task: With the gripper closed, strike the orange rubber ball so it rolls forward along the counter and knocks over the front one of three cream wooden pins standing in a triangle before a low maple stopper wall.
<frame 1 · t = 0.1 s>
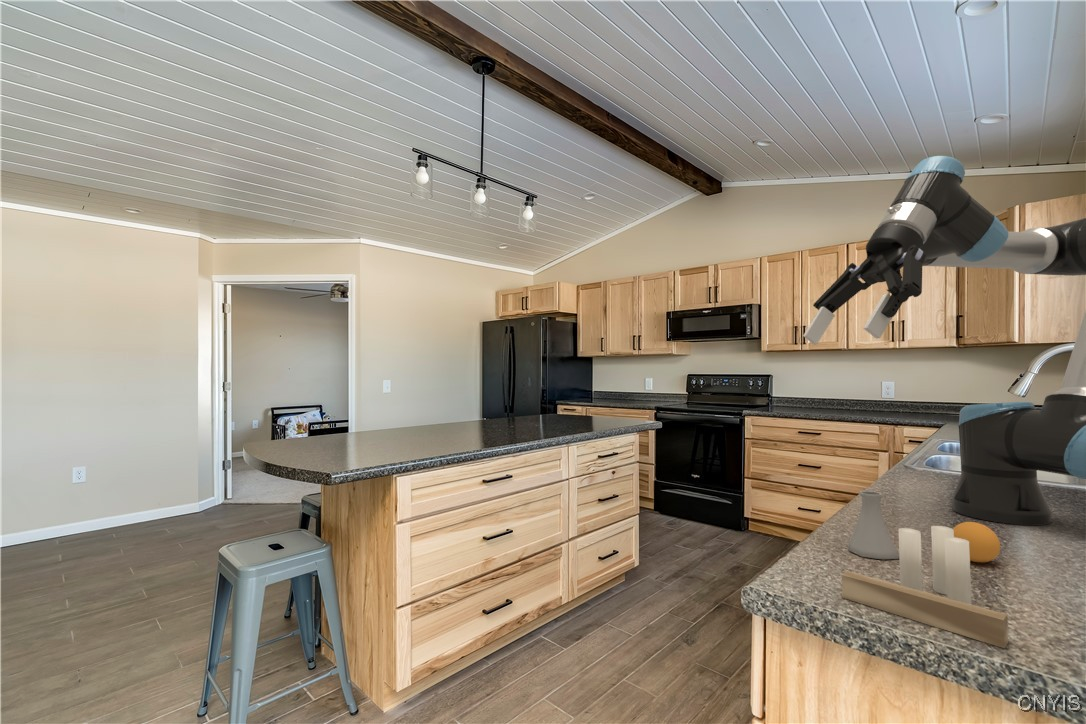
hand: (838, 337, 83), 36 cm above the worktop, tool tilted 35°, fingers open, 13 cm apart
flask: (872, 554, 82), on the worktop
ball: (974, 541, 78), on the worktop
back wall: (917, 617, 60), on the worktop
pin 1: (911, 594, 67), on the worktop
pin 2: (959, 607, 63), on the worktop
pin front: (944, 591, 68), on the worktop
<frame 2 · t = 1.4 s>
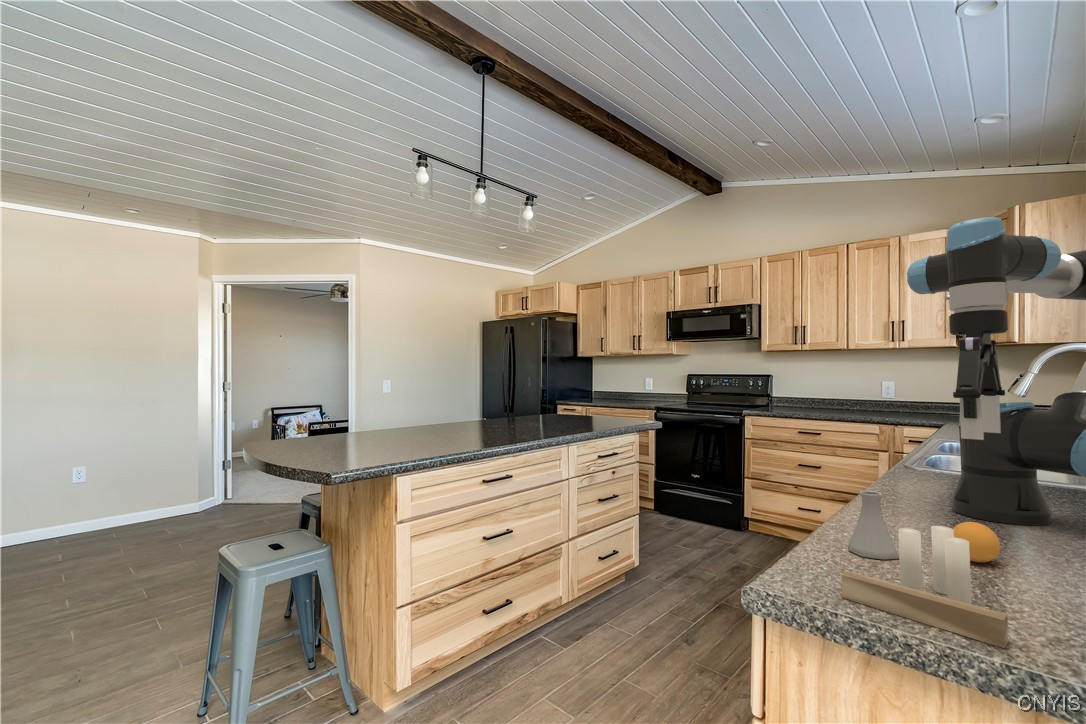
hand: (981, 435, 84), 19 cm above the worktop, tool pointing down, fingers open, 13 cm apart
nothing on the worktop moved.
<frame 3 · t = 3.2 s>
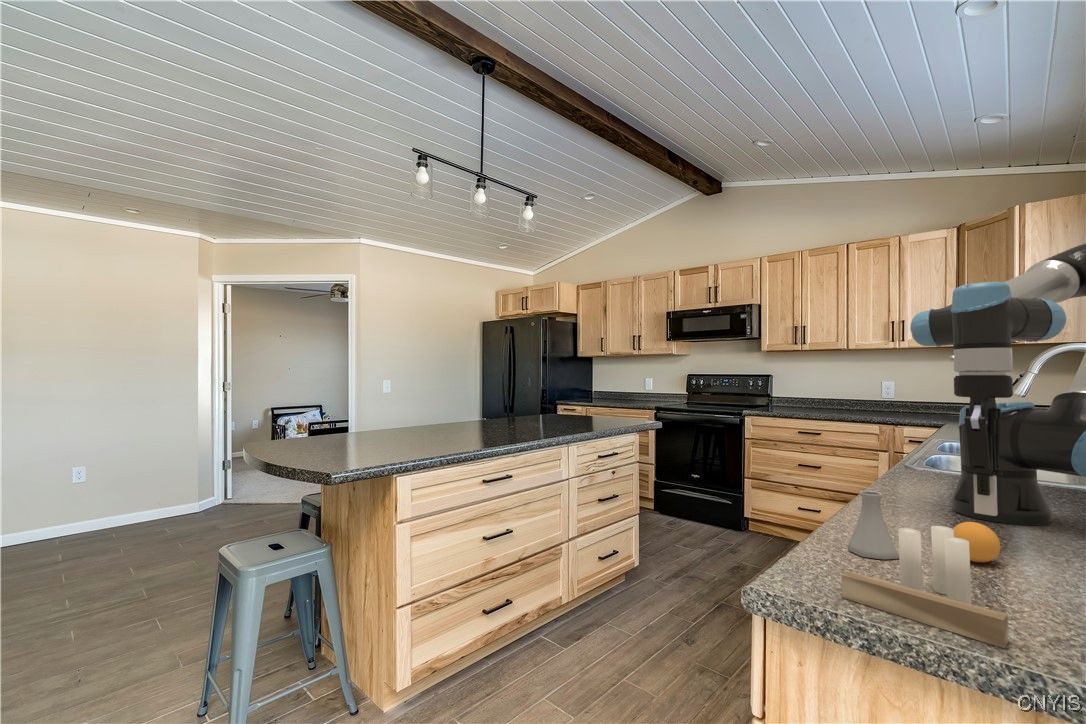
hand: (985, 513, 84), 6 cm above the worktop, tool pointing down, fingers closed
nothing on the worktop moved.
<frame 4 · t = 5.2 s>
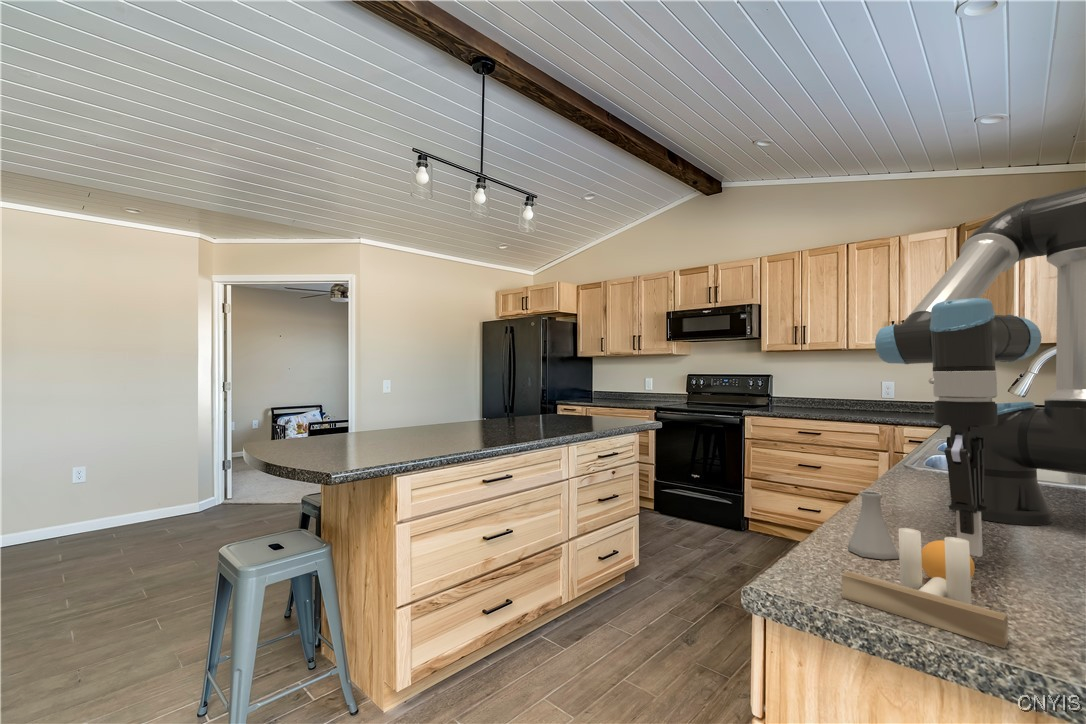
hand: (970, 553, 76), 2 cm above the worktop, tool pointing down, fingers closed
ball: (946, 563, 70), on the worktop
pin front: (940, 586, 67), point 1 cm above the worktop, tilted 90°
everything else where it was.
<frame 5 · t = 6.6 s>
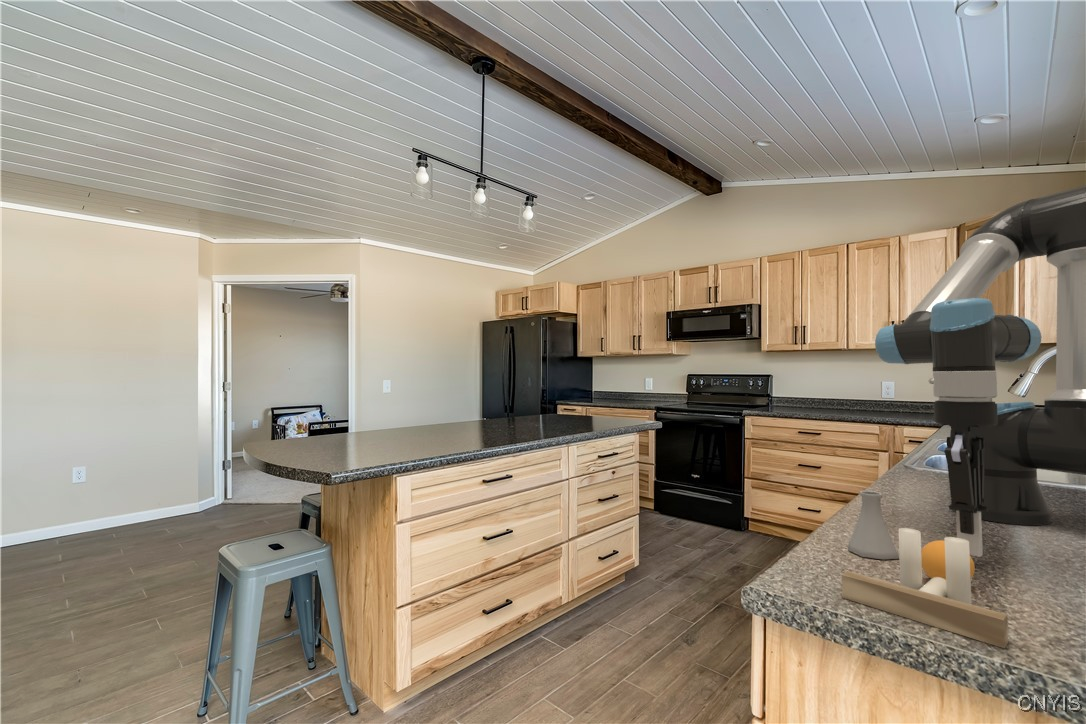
hand: (970, 553, 76), 2 cm above the worktop, tool pointing down, fingers closed
nothing on the worktop moved.
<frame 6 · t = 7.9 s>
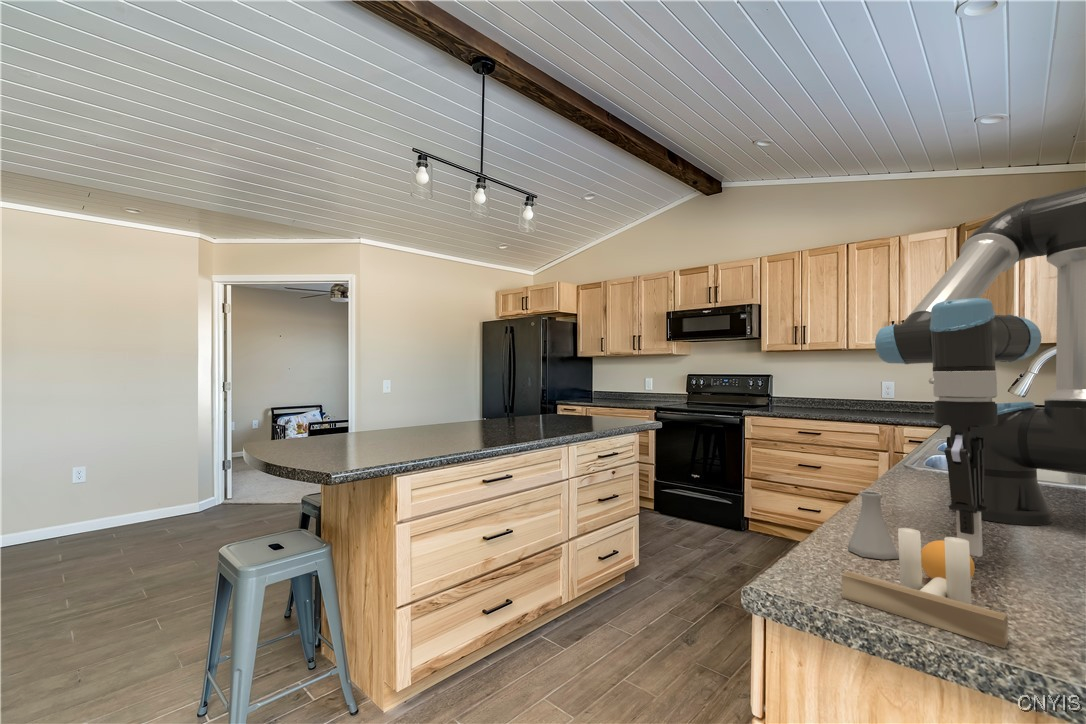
hand: (970, 553, 76), 2 cm above the worktop, tool pointing down, fingers closed
nothing on the worktop moved.
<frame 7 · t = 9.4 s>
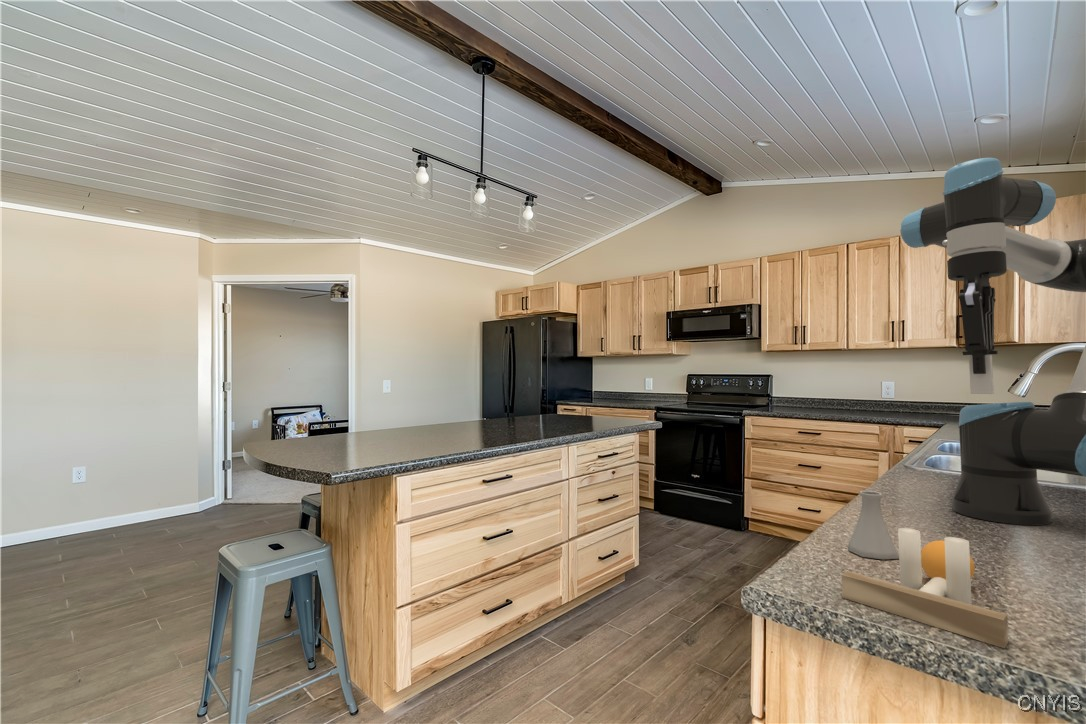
hand: (982, 393, 84), 26 cm above the worktop, tool pointing down, fingers closed
nothing on the worktop moved.
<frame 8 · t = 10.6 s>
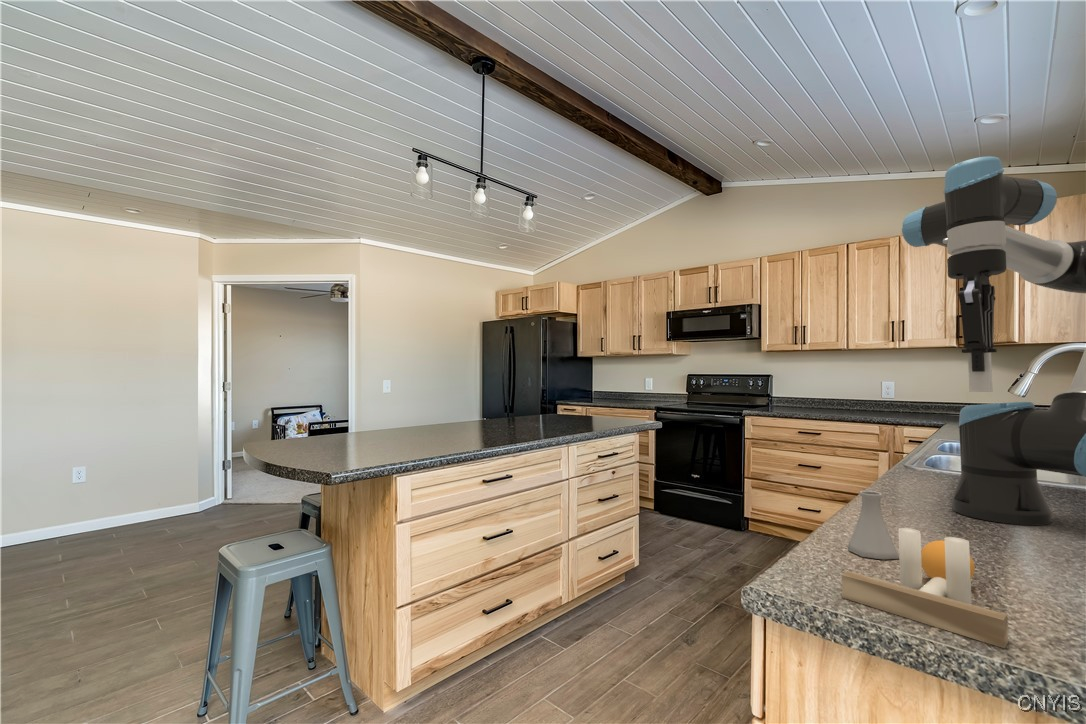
hand: (980, 391, 84), 26 cm above the worktop, tool pointing down, fingers closed
nothing on the worktop moved.
at the end: pin front tilted 90°; pin front never touched the robot; ball moved 14.0 cm from its start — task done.
